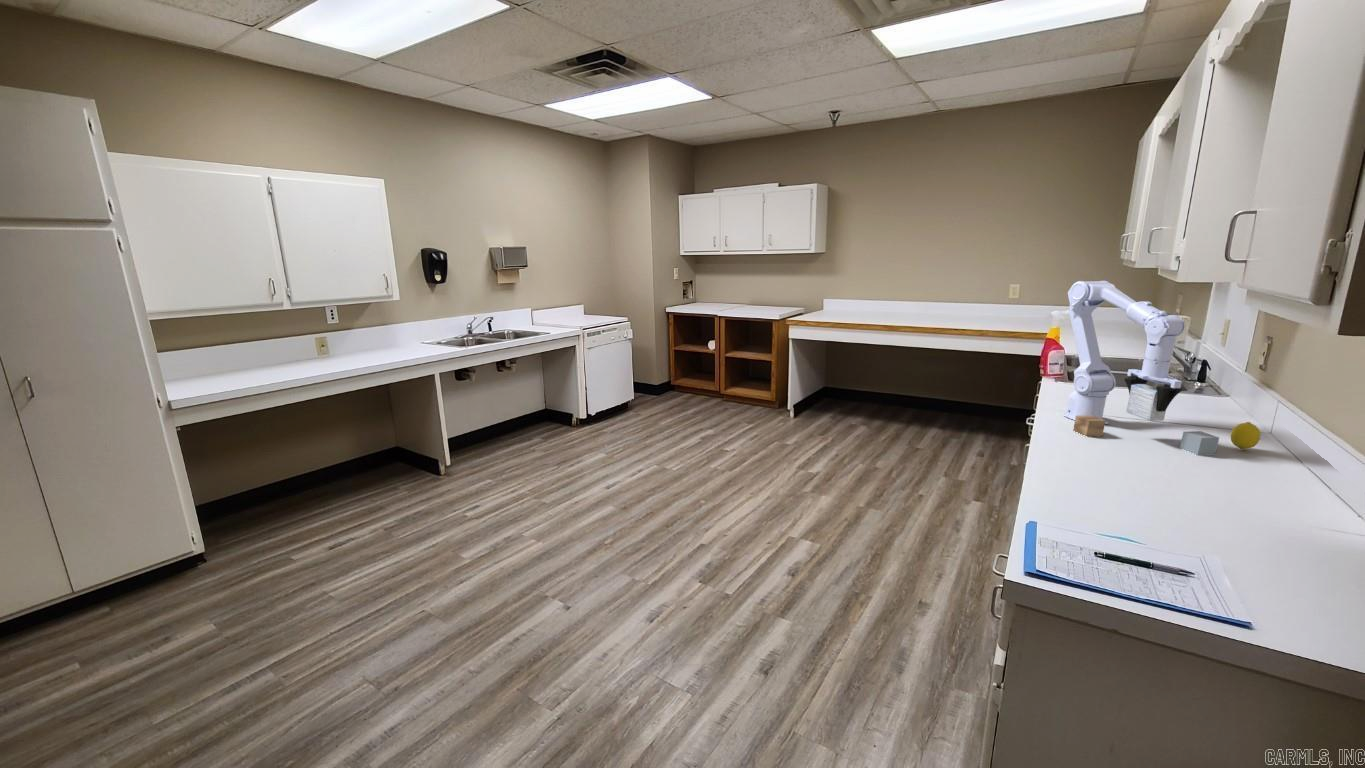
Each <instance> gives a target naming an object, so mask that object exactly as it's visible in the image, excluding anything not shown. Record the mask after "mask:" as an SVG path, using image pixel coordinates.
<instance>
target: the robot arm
mask: <svg viewBox="0 0 1365 768" xmlns="http://www.w3.org/2000/svg"><path fill="white" fill-rule="evenodd" d="M1067 297H1068V301H1069V308H1068V309H1069V310H1068V313H1069V318H1070V323H1071V328H1072V332H1073V336H1074V343H1075V346H1076V351H1077V355H1078V360H1079V366H1078V367H1077V368H1076V369H1075V370H1074V371H1073V375H1074V378H1073V387H1074V389H1075V390H1073V391H1072V392H1071V393H1070V395H1069V396H1068V401H1067V407H1066V411H1065V413H1064V414H1062V416H1063V417H1065V418H1068V419H1070V420H1073V421H1075V418H1076V416H1077V415H1093V416H1096V417H1098V418H1101V419H1103V417H1104V411H1105V405H1106V401H1107V396H1109V393H1110V392H1112V391H1113V390H1114V389H1115V387H1116V385H1117V381H1116V378H1115V376H1114V374H1113V373H1112V372H1111V368H1110V367H1109V366H1108V365H1106V364H1105V363H1104V362H1103V360H1102V356H1101V352H1100V347H1099V343H1098V337H1097V334H1096V333H1097V332H1096V330H1095V324H1094V320H1093V319H1094V318H1093V316H1092V313H1093V312H1094V311H1095V310H1097V308H1099V307H1100V306H1101V305H1102V304H1103V303H1105V302H1106V303H1107V302H1108V303H1109V304H1111V305H1112V306H1115V307H1117V308H1119V309H1121V311H1124V312H1126V317H1127V318H1128V319H1129V320H1131V321H1132V322H1134V323H1135V324H1136V325H1138V326H1140V327H1142V328H1143V329H1144V332H1145V334H1146V341H1147V342H1146V343H1147V344H1146V348H1145V352H1144V357H1143V362H1142V366H1141V369H1135V368H1131V369H1130V368H1128V370H1127V376H1128V377H1124V382H1125V384H1126V386H1127V389H1128V394H1129V396H1130V391H1131V386H1132V385H1134V384H1148V382H1152V383H1155V384H1159V385H1156V386H1155V387H1156V389H1157V395H1158V399H1157V406H1156V411H1166V412H1167V409H1168V407H1169V405H1170V404H1171V402H1172V401H1173V400H1174V398H1176V397H1177V395H1178V394H1180V393H1181V392H1182V389H1183V388H1182V382H1183V381H1182V380H1178V379H1177V378H1174V377H1171V376H1169V373H1170V372H1169V371H1170V368H1171V363H1172V360H1173V359H1172V358H1173V355H1174V350H1175V349H1174V348H1175V345H1176V341H1177V337H1178V336H1181V335H1182V333H1183V332H1184V330H1185V325H1186V324H1185V321H1184V320H1183V319H1182V318H1181V317H1180V316H1179V315H1175V314H1174V315H1172V314H1171V315H1168V313H1167V312H1166V311H1165V310H1160V309H1158V308H1156V307H1155V306H1153V303H1152V302H1150V301H1148V300H1147V301H1144V300H1143V301H1135V300H1134V299H1133V298H1131V297H1129V296H1128V295H1126V294H1125V293H1123V291H1121V290H1119V288H1116V286H1115V284H1113V283H1110V282H1109V281H1107V280H1100V281H1099V280H1098V281H1095V280H1094V281H1082V280H1078V281H1076V282H1075V283H1073V284H1072V285H1071V287H1070V288H1069V289H1068V291H1067ZM1109 424H1110V422H1108V421H1106V420H1105V425H1109Z"/></svg>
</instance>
